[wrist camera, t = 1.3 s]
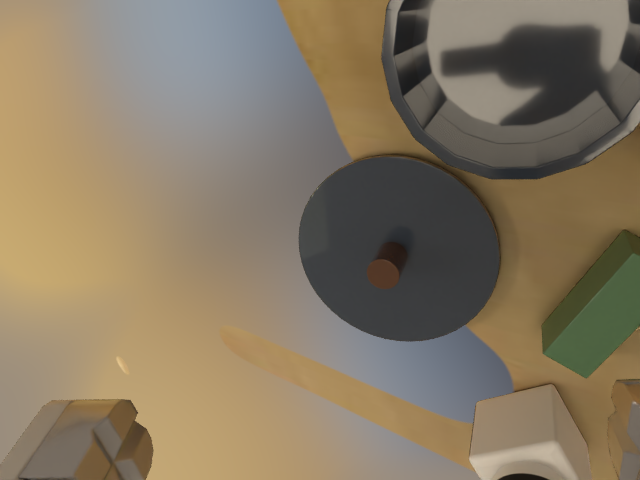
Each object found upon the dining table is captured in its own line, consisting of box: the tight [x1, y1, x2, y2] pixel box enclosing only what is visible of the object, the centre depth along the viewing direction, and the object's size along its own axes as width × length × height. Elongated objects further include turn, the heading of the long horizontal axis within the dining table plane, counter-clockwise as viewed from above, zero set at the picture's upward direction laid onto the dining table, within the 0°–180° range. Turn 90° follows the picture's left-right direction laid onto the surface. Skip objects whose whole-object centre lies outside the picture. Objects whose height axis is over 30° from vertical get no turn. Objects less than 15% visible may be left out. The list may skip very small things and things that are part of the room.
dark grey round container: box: [381, 0, 640, 179], centre depth 32 cm, size 16×16×6 cm
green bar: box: [542, 230, 640, 378], centre depth 38 cm, size 10×4×4 cm, turn 156°
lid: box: [299, 155, 500, 341], centre depth 42 cm, size 17×17×5 cm
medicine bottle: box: [469, 384, 592, 480], centre depth 41 cm, size 7×7×12 cm
